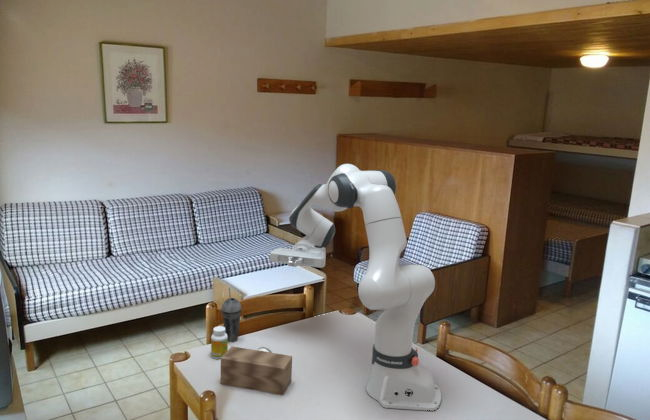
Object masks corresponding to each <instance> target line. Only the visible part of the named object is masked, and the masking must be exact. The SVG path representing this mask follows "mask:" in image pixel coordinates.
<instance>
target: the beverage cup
mask: <svg viewBox="0 0 650 420" xmlns="http://www.w3.org/2000/svg"><path fill="white" fill-rule="evenodd" d="M228 296H229V297H228V298H227V299H226V300H224V301H223V303H222V304H221V315H222V322H223V323H222V325H223V327H225V333H226V334H227V336H228V343H235V342H238V340H239V339H238V338H239V332H240V322H241V314H242V311H243V308H242V305H241V302H240V301H239V300H238V298H234V297H232V294H231V287H228Z"/></svg>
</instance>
